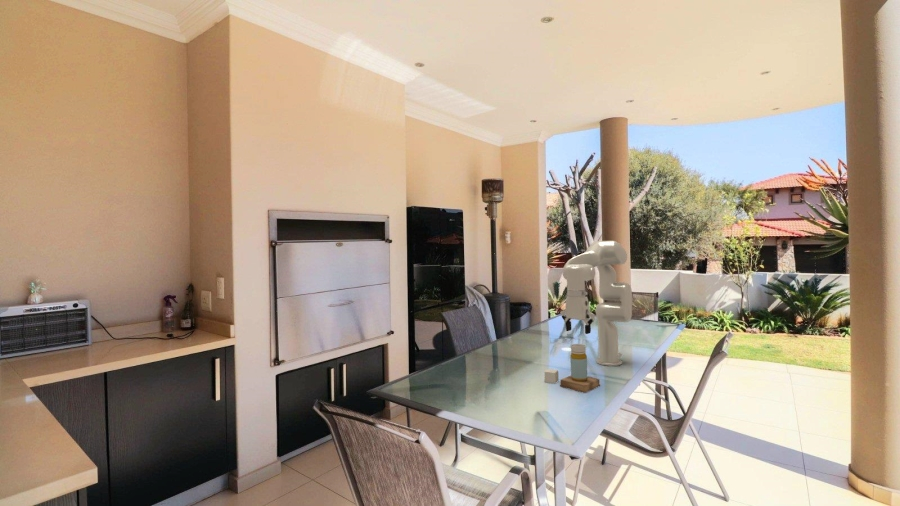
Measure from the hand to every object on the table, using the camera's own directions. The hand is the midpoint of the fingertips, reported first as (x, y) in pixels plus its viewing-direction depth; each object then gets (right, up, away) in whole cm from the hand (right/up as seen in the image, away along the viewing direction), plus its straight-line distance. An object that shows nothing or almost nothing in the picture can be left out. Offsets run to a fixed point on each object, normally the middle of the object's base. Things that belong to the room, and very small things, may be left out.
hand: (578, 332), depth 183 cm
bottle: (+1, -21, 0) cm, 21 cm away
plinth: (+1, -24, 0) cm, 24 cm away
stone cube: (-10, -25, +8) cm, 28 cm away
